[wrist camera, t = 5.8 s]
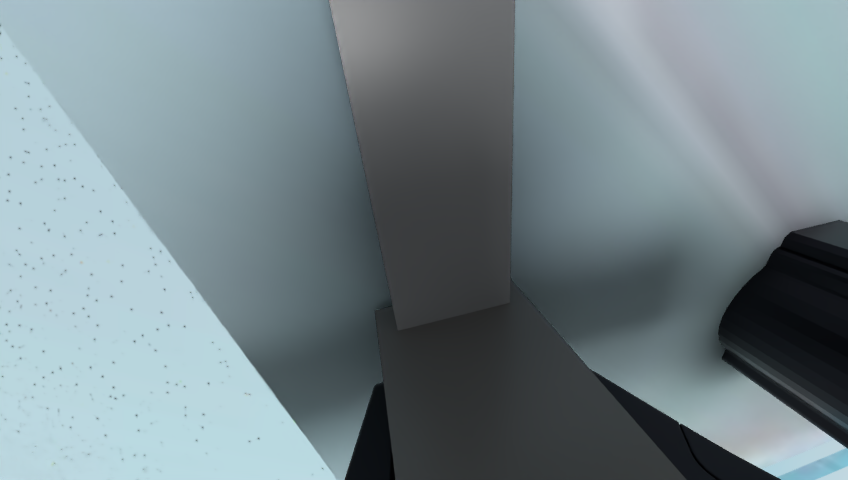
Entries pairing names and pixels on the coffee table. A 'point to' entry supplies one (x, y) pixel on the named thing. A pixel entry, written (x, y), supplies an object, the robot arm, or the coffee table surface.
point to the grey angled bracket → (466, 260)
